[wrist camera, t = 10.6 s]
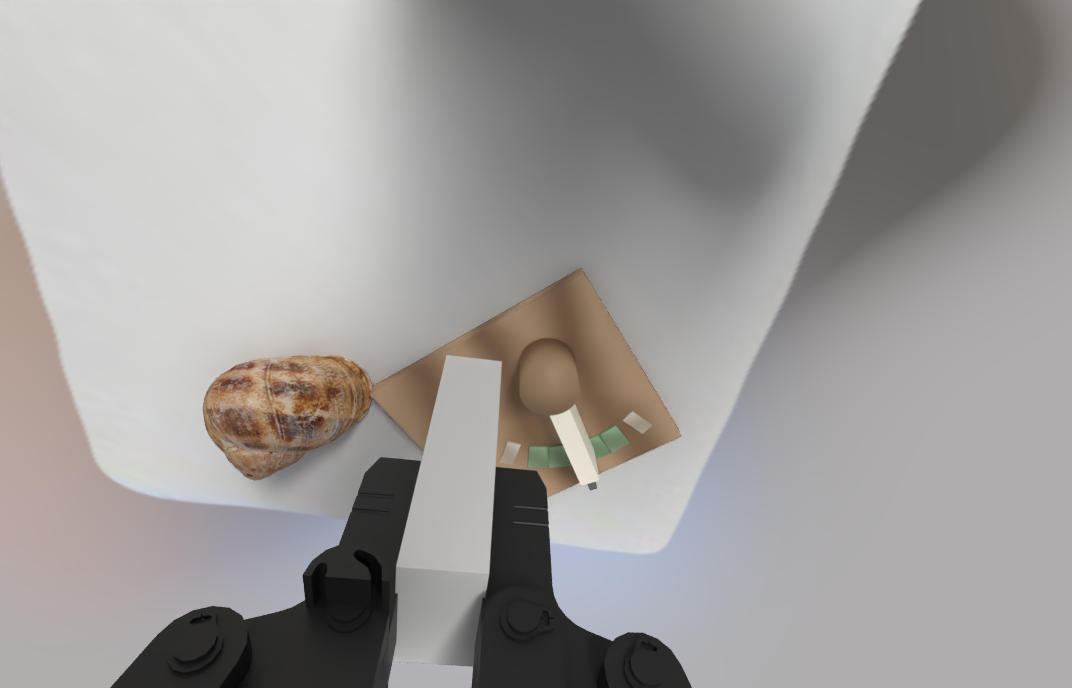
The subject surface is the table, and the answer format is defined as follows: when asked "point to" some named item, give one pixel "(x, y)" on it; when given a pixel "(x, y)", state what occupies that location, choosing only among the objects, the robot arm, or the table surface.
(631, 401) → the dial board
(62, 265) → the table surface
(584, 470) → the lever
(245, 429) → the seashell
